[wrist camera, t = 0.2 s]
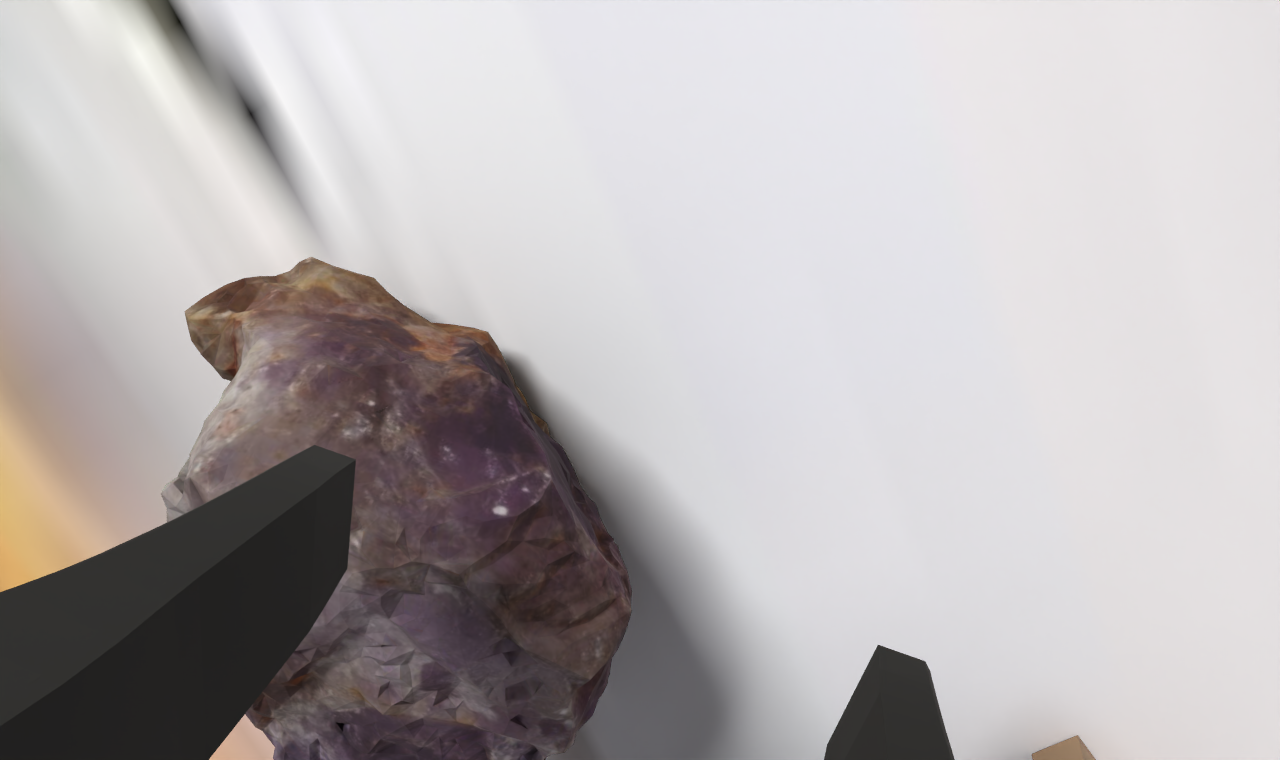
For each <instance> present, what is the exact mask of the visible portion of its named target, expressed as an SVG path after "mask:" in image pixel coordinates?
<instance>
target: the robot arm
mask: <svg viewBox="0 0 1280 760" xmlns="http://www.w3.org/2000/svg"><path fill="white" fill-rule="evenodd" d="M355 466H356V459H353V458H350V457H348V456H345V455H342V454H339V453H336V452H333V451H331V450H328V449H325V448H322V447H319V446H317V445H313V446H311V447H309V448H307V449H305V450H303V451H301V452H299V453H297V454H296V455H294V456H292V457H290V458H288V459H286V460H284V461H283V462H281V463H279V464H277V465H275V466H273V467H272V468H270V469H268V470H266V471H264V472H262V473H261V474H259V475H257V476H255V477H253V478H251V479H250V480H248V481H246V482H244V483H242V484H240V485H238V486H237V487H235V488H233V489H231V490H229V491H227V492H226V493H224V494H222V495H220V496H218V497H216V498H214V499H212V500H210V501H208V502H206V503H204V504H202V505H200V506H199V507H197V508H195V509H193V510H191V511H189V512H187V513H185V514H183V515H181V516H179V517H177V518H175V519H173V520H171V521H169V522H167V523H165V524H163V525H161V526H159V527H157V528H155V529H153V530H151V531H148V532H146V533H144V534H142V535H140V536H138V537H135V538H133V539H131V540H129V541H127V542H125V543H122V544H120V545H118V546H116V547H114V548H112V549H109V550H107V551H105V552H103V553H101V554H98V555H96V556H94V557H91V558H89V559H87V560H84V561H82V562H79V563H77V564H75V565H72V566H70V567H67V568H65V569H62V570H60V571H57V572H55V573H52V574H49V575H47V576H44V577H41V578H39V579H36V580H33V581H30V582H28V583H25V584H22V585H20V586H17V587H14V588H11V589H8V590H5V591H3V592H0V760H209V758H210V757H211V756H212V755H213V753H214V752H215V751H216V750H217V748H218V747H219V746H220V745H221V743H222V742H223V741H224V740H225V738H226V737H227V736H228V734H229V733H230V732H231V731H232V729H233V728H234V727H235V726H236V724H237V723H238V722H239V721H240V719H241V718H242V717H243V716H244V714H245V713H246V712H247V711H248V709H249V708H250V707H251V706H252V704H253V703H254V702H255V700H256V699H257V698H258V697H259V695H260V694H261V693H262V692H263V690H264V689H265V688H266V687H267V685H268V684H269V683H270V682H271V680H272V679H273V678H274V677H275V675H276V674H277V673H278V671H279V670H280V669H281V668H282V666H283V665H284V664H285V662H286V661H287V660H288V659H289V657H290V656H291V655H292V654H293V652H294V651H295V650H296V648H297V647H298V646H299V645H300V643H301V642H302V641H303V639H304V638H305V637H306V635H307V634H308V633H309V631H310V630H311V628H312V627H313V625H314V623H315V622H316V620H317V619H318V617H319V615H320V614H321V612H322V611H323V609H324V607H325V606H326V604H327V602H328V601H329V599H330V597H331V596H332V594H333V592H334V591H335V589H336V587H337V585H338V584H339V582H340V580H341V579H342V577H343V575H344V574H345V572H346V570H347V567H348V554H349V542H350V529H351V516H352V504H353V491H354V479H355ZM824 760H954V756H953V753H952V750H951V746H950V743H949V740H948V736H947V733H946V730H945V726H944V723H943V719H942V716H941V712H940V708H939V704H938V701H937V697H936V693H935V689H934V685H933V681H932V677H931V673H930V670H929V668H928V666H927V664H926V662H925V661H922V660H920V659H917V658H914V657H911V656H908V655H905V654H903V653H900V652H897V651H894V650H891V649H889V648H886V647H883V646H880V645H878V646H877V648H876V650H875V652H874V654H873V656H872V658H871V660H870V662H869V664H868V666H867V668H866V670H865V672H864V674H863V675H862V677H861V679H860V681H859V683H858V685H857V687H856V689H855V691H854V693H853V695H852V697H851V699H850V701H849V703H848V705H847V707H846V709H845V711H844V713H843V715H842V717H841V719H840V721H839V723H838V725H837V727H836V729H835V731H834V733H833V735H832V737H831V738H830V740H829V742H828V744H827V749H826V753H825V758H824Z"/></svg>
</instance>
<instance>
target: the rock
mask: <svg viewBox="0 0 1280 760" xmlns="http://www.w3.org/2000/svg"><path fill="white" fill-rule="evenodd" d="M185 316H186V320H187V325H188V329H189V333H190V337H191V341H192V342H193V343H194V345H195V346H196V348H197V349H198V350H199V352H200V353H201V355H202V356H203V357H204V358H205V359H206V360H207V361H208V362H209V363H210V364H211V365H212V366H213V367H214V369H215V370H216V371H217V372H218V373H219V374H220V376H221V377H222V378H223V379H227V380H230V381H231V382H230V384H229V385H228V386H227V388H226V389H225V390H224V392H223V394H222V397H221V399H220V401H219V404H218V405H217V406H216V407H215V409H214V410H213V411H212V412H211V414H210V415H209V416H208V417H207V419H206V420H205V421H204V424H203V427H202V430H201V433H200V435H199V437H198V439H197V441H196V443H195V445H194V446H193V448H192V450H191V452H190V457H189V459H188V460H187V462H186V463H185V465H184V466H183V468H182V469H181V471H180V472H179V475H178V477H177V478H175V479H174V480H172V481H171V482H169V483H168V484H166V485H165V487H164V489H163V490H162V492H161V495H162V498H163V500H164V502H165V505H166V507H167V522H169V521H171V520H173V519H175V518H177V517H179V516H181V515H183V514H185V513H187V512H189V511H191V510H193V509H195V508H197V507H199V506H200V505H202V504H204V503H206V502H208V501H210V500H212V499H214V498H216V497H218V496H220V495H222V494H224V493H226V492H227V491H229V490H231V489H233V488H235V487H237V486H238V485H240V484H242V483H244V482H246V481H248V480H250V479H251V478H253V477H255V476H257V475H259V474H261V473H262V472H264V471H266V470H268V469H270V468H272V467H273V466H275V465H277V464H279V463H281V462H283V461H284V460H286V459H288V458H290V457H292V456H294V455H296V454H297V453H299V452H301V451H303V450H305V449H307V448H309V447H311V446H313V445H317V446H319V447H322V448H325V449H328V450H331V451H333V452H336V453H339V454H342V455H345V456H348V457H350V458H353V459H356V466H355V479H354V491H353V504H352V516H351V529H350V542H349V554H348V567H347V570H346V572H345V574H344V575H343V577H342V579H341V580H340V582H339V584H338V585H337V587H336V589H335V591H334V592H333V594H332V596H331V597H330V599H329V601H328V602H327V604H326V606H325V607H324V609H323V611H322V612H321V614H320V615H319V617H318V619H317V620H316V622H315V623H314V625H313V627H312V628H311V630H310V631H309V633H308V634H307V635H306V637H305V638H304V639H303V641H302V642H301V643H300V645H299V646H298V647H297V648H296V650H295V651H294V652H293V654H292V655H291V656H290V657H289V659H288V660H287V661H286V662H285V664H284V665H283V666H282V668H281V669H280V670H279V671H278V673H277V674H276V675H275V677H274V678H273V679H272V680H271V682H270V683H269V684H268V685H267V687H266V688H265V689H264V690H263V692H262V693H261V694H260V695H259V697H258V698H257V699H256V700H255V702H254V703H253V704H252V706H251V707H250V708H249V709H248V711H247V712H246V713H245V714H246V716H247V717H248V718H249V719H250V721H251V722H252V723H253V724H254V726H255V727H256V728H258V729H260V730H262V731H263V732H264V733H265V735H266V736H267V737H268V739H269V740H270V741H271V742H272V744H273V745H274V746H275V750H274V755H273V759H274V760H545V758H546V757H547V756H549V755H551V754H558V753H564V752H565V751H566V750H567V749H569V748H570V747H571V746H572V745H573V744H574V741H575V736H576V732H577V731H578V730H579V729H580V728H581V727H582V726H583V725H584V724H585V723H586V722H587V721H588V719H589V718H590V717H591V716H592V715H593V713H594V710H595V707H596V704H597V702H598V699H599V698H600V696H601V695H602V693H603V692H604V690H605V688H606V685H607V683H608V677H609V674H610V667H611V661H612V657H613V655H614V654H615V652H616V651H617V650H618V648H619V645H620V643H621V641H622V639H623V637H624V634H625V631H626V629H627V626H628V622H629V618H630V616H631V611H632V610H631V595H632V589H631V585H630V581H629V576H628V572H627V569H626V567H625V565H624V562H623V560H622V558H621V555H620V552H619V548H618V546H617V545H616V544H615V543H614V541H613V540H614V539H613V538H612V537H611V536H610V535H609V534H608V532H607V530H606V528H605V526H604V524H603V523H602V521H601V518H600V515H599V513H598V510H597V507H596V504H595V503H594V502H593V501H592V500H590V498H589V497H588V496H587V494H586V493H585V492H584V490H583V489H582V488H581V486H580V484H579V481H578V479H577V476H576V474H575V471H574V469H573V467H572V465H571V463H570V462H569V460H568V458H567V456H566V454H565V452H564V450H563V448H562V446H561V445H559V444H558V443H557V442H556V441H554V440H553V439H552V438H551V437H550V434H549V430H548V426H547V423H546V422H545V421H543V420H542V419H541V418H539V417H538V416H537V415H535V414H534V413H532V412H531V411H530V409H529V406H528V404H527V401H526V398H525V397H524V395H523V394H522V392H521V391H520V389H519V388H518V387H517V386H516V384H515V381H514V379H513V377H512V375H511V372H510V370H509V368H508V366H507V364H506V362H505V360H504V358H503V356H502V354H501V352H500V350H499V348H498V346H497V345H496V343H495V342H494V340H493V339H492V337H491V336H490V334H489V333H488V332H486V331H482V330H479V329H475V328H471V327H464V326H458V325H451V324H440V323H431V322H429V321H428V320H426V319H425V318H423V317H421V316H420V315H418V314H417V313H415V312H414V311H412V310H410V309H409V308H407V307H406V306H404V305H403V304H402V303H400V302H399V301H398V300H397V299H395V298H394V297H393V296H392V295H391V294H389V293H388V292H387V291H386V290H385V289H384V288H383V287H382V286H381V285H380V284H379V283H378V282H377V281H376V280H375V278H372V277H369V276H365V275H362V274H358V273H355V272H351V271H348V270H345V269H341V268H338V267H335V266H332V265H330V264H327V263H325V262H322V261H320V260H318V259H315V258H313V257H309V258H307V259H305V260H303V261H301V262H299V263H298V264H297V265H296V266H295V267H294V268H293V269H292V270H291V271H289V272H286V273H283V274H280V275H277V276H259V277H251V278H244V279H241V280H238V281H235V282H232V283H230V284H227V285H225V286H223V287H221V288H219V289H218V290H216V291H214V292H212V293H210V294H209V295H207V296H205V297H203V298H202V299H201V300H199V301H198V302H197V303H195V304H194V305H193V306H191V307H190V308H189V309H187V310H186V311H185Z"/></svg>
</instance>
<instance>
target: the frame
mask: <svg viewBox="0 0 1280 760" xmlns="http://www.w3.org/2000/svg"><path fill="white" fill-rule="evenodd" d="M1032 758H1033V760H1096V759H1095V758H1094V757H1093V755H1092V754H1091V753H1090V751H1089V750H1088V749H1087V747H1086V746H1085V744H1084V743H1083V742H1082V740H1081V739H1080V738H1079V736H1078V735H1077V736H1075V737H1072V738H1070V739H1067V740H1065V741H1062V742H1060V743H1058V744H1055V745H1053V746H1050V747H1048V748H1045V749H1043V750H1040V751H1038V752H1036V753H1033V754H1032Z"/></svg>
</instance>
